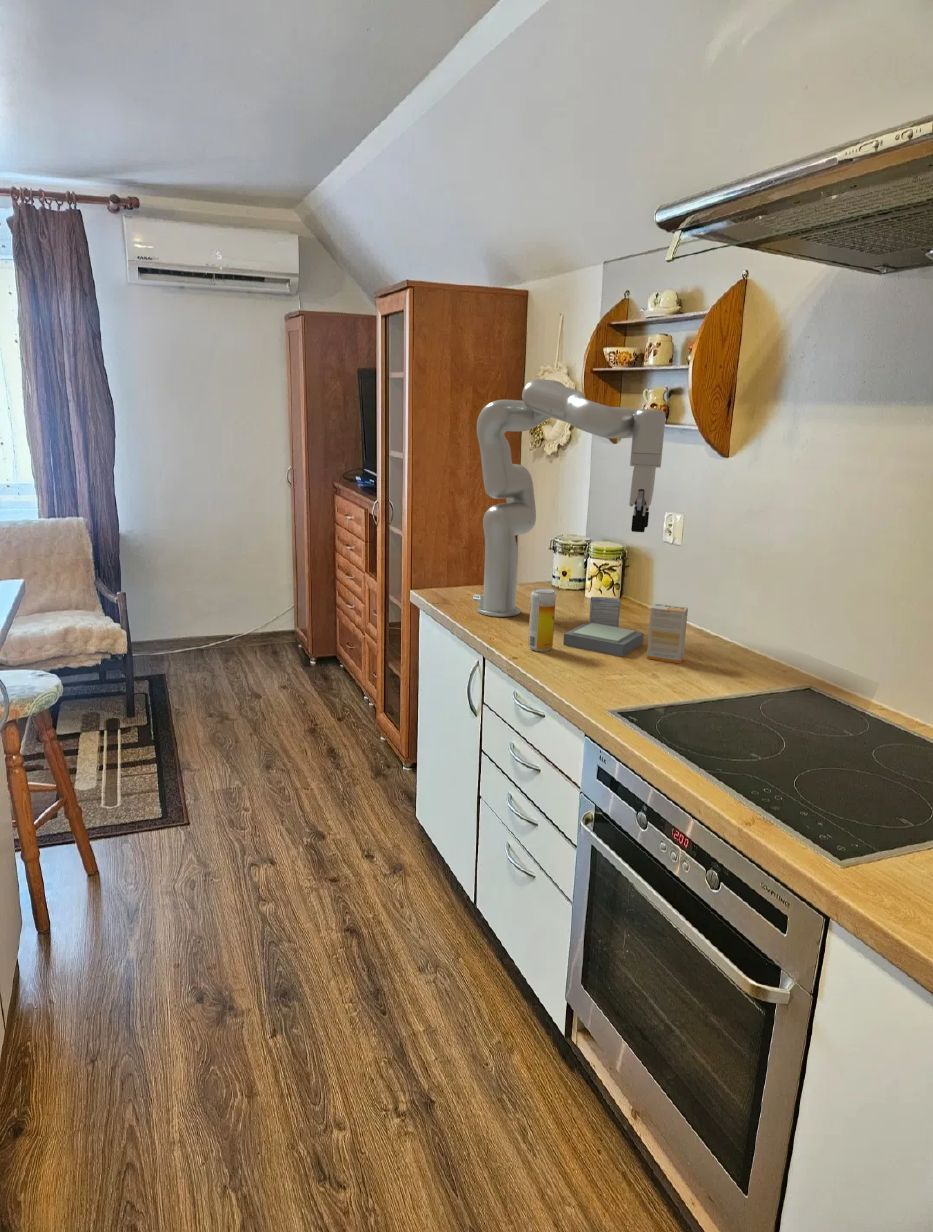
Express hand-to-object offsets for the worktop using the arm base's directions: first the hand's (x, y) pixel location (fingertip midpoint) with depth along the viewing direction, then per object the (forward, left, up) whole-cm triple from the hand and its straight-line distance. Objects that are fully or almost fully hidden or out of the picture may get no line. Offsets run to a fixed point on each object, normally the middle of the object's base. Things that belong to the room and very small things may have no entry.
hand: (639, 529), depth 206 cm
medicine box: (-10, +6, -30) cm, 32 cm away
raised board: (-4, -8, -29) cm, 31 cm away
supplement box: (+13, -10, -30) cm, 34 cm away
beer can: (-15, -22, -30) cm, 40 cm away
